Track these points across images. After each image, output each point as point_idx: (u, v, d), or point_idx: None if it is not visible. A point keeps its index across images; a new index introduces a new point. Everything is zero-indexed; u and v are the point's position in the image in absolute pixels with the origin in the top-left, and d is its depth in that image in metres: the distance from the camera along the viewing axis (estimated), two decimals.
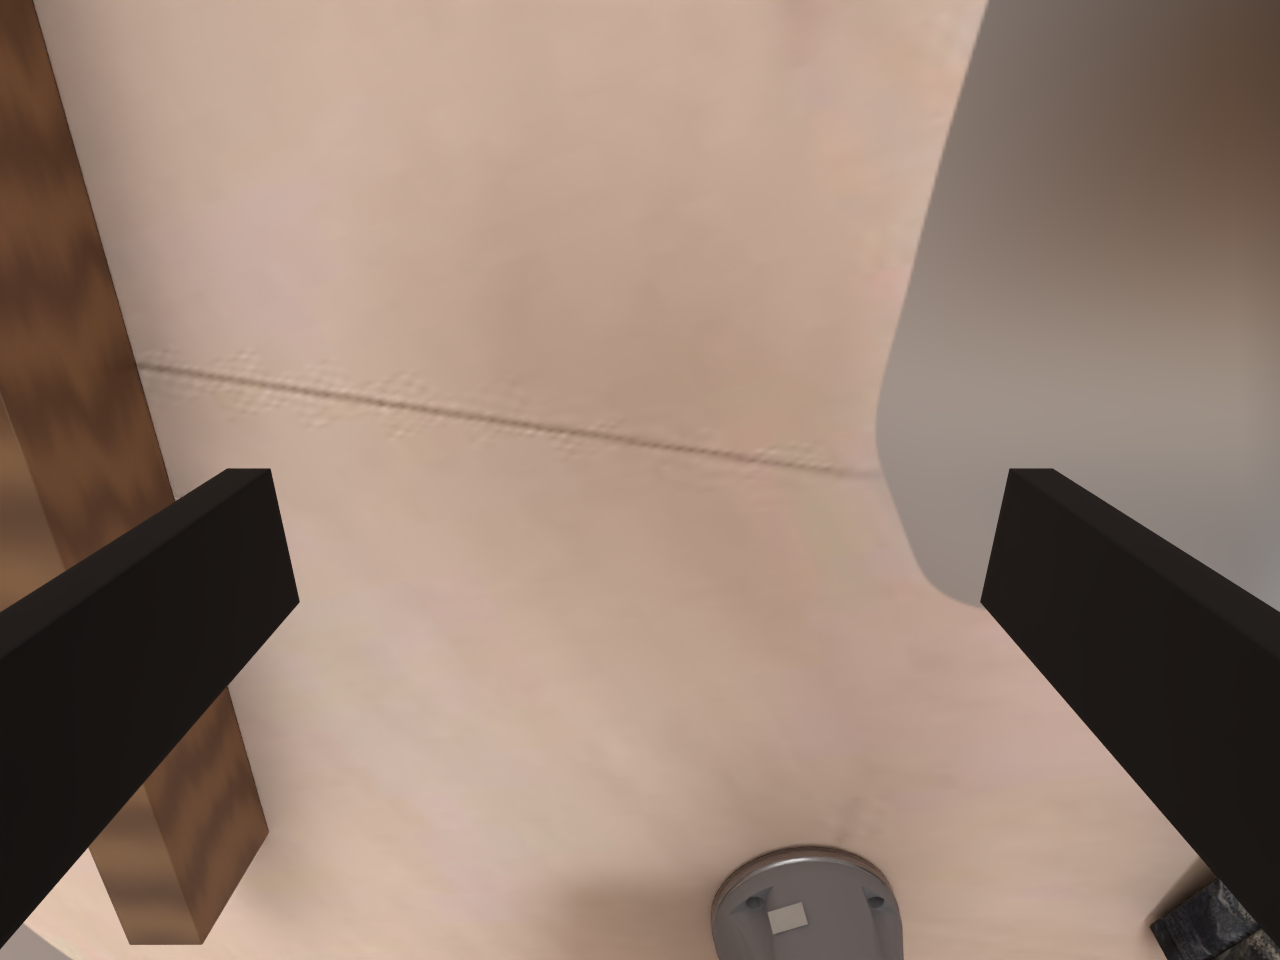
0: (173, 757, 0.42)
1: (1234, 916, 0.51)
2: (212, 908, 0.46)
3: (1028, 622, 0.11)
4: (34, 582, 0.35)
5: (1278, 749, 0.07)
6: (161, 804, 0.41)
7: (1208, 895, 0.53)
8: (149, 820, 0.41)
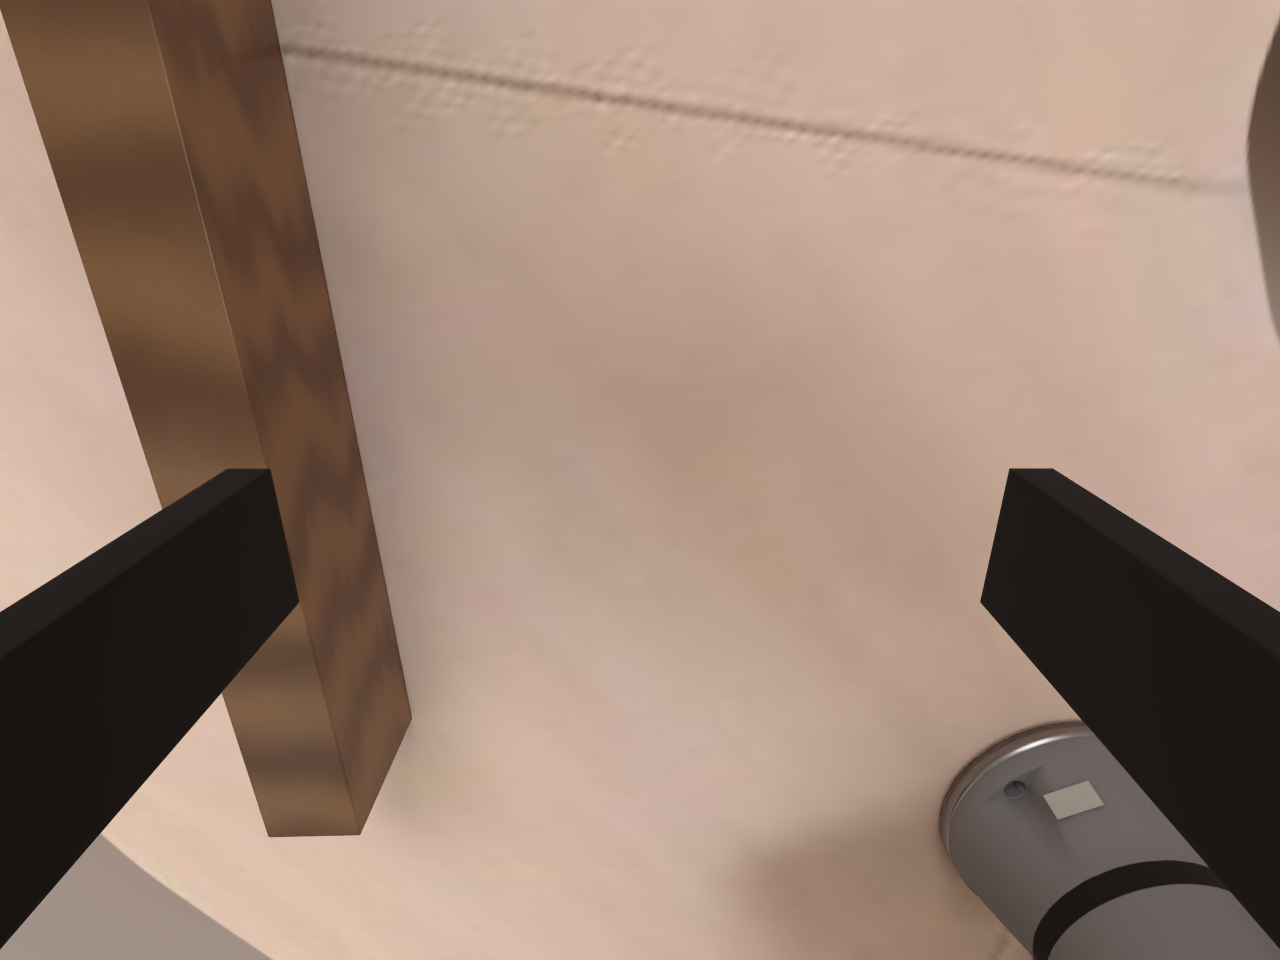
0: (328, 584, 0.33)
1: None
2: (367, 792, 0.37)
3: (1028, 622, 0.11)
4: (172, 291, 0.25)
5: (1278, 749, 0.07)
6: (319, 639, 0.32)
7: None
8: (305, 658, 0.31)
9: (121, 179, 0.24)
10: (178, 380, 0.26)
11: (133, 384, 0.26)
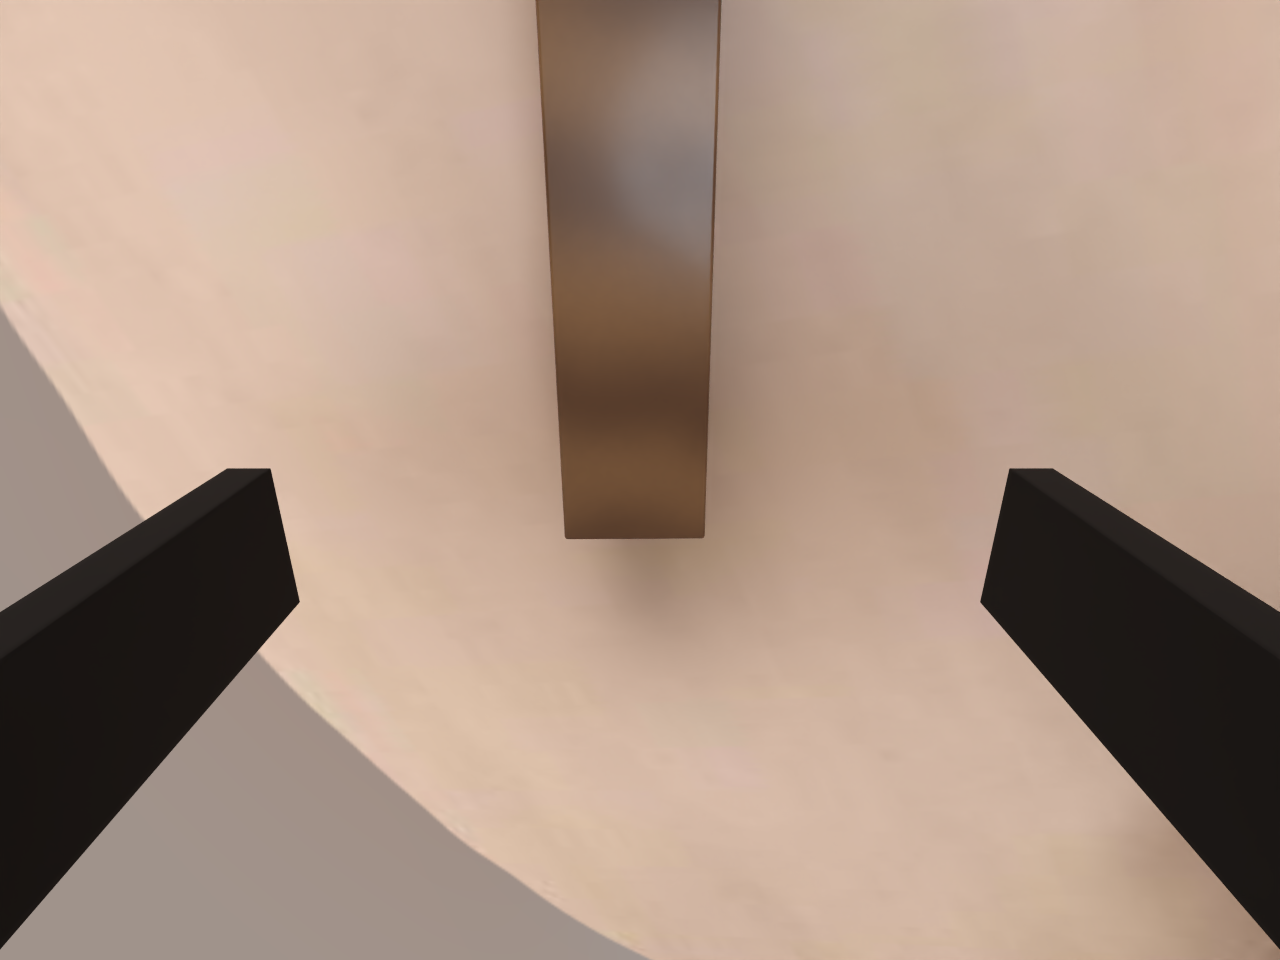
0: None
1: None
2: None
3: (1028, 622, 0.11)
4: None
5: (1278, 749, 0.07)
6: None
7: None
8: (699, 188, 0.19)
9: None
10: None
11: None
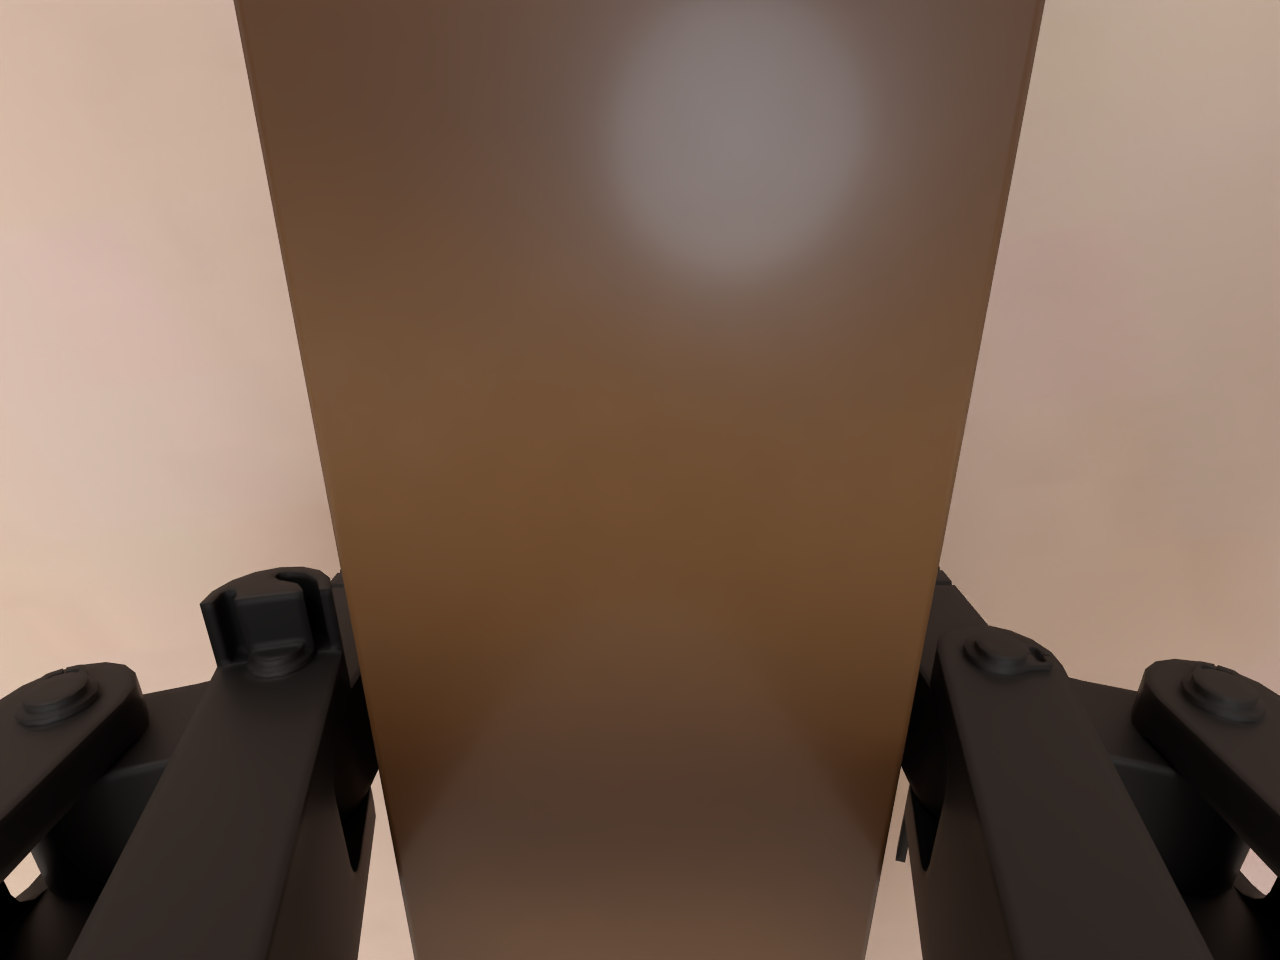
0: None
1: None
2: None
3: None
4: None
5: None
6: None
7: None
8: (967, 39, 0.04)
9: None
10: None
11: None
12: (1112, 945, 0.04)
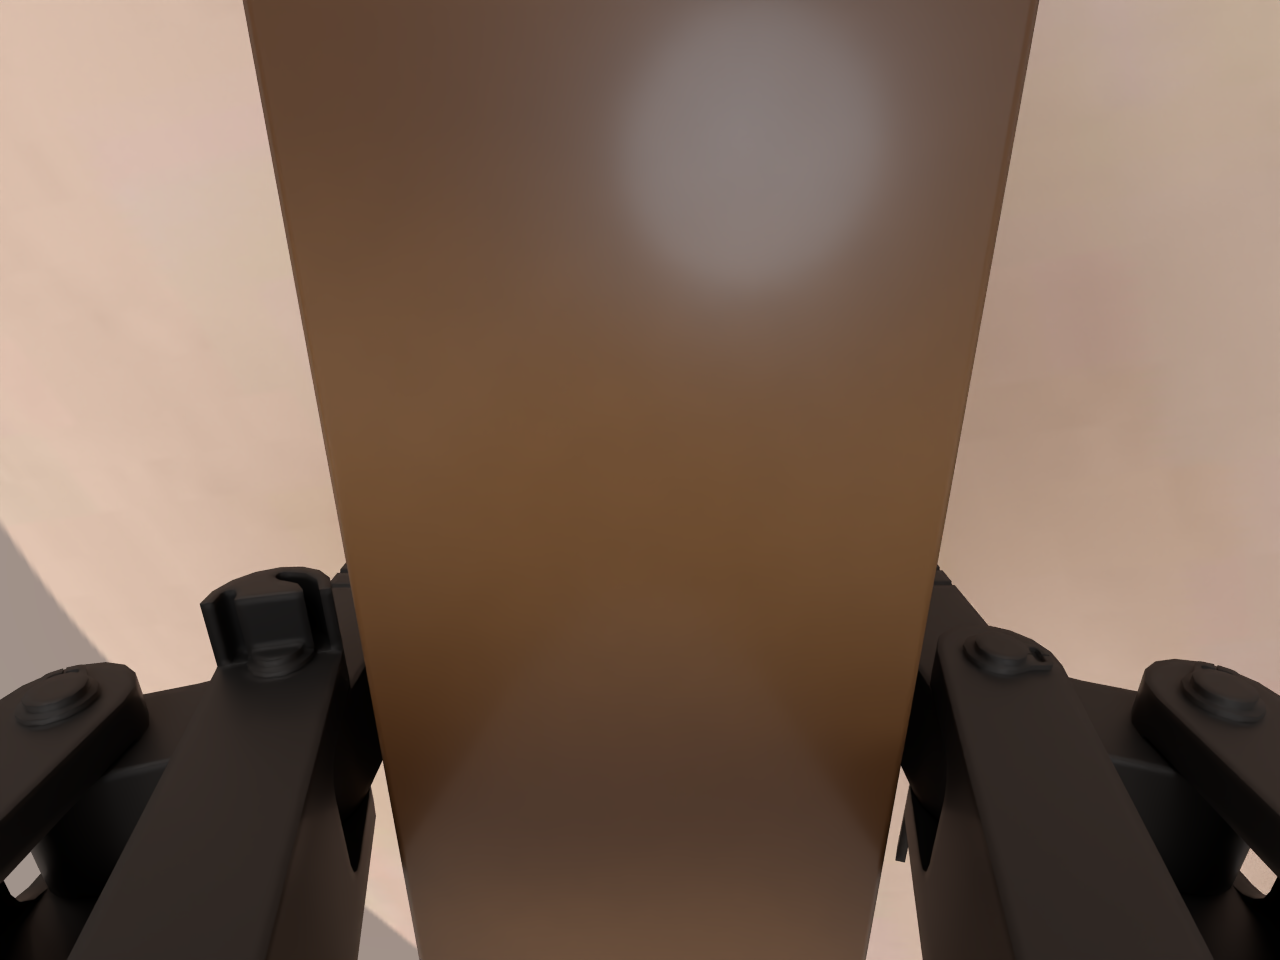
0: None
1: None
2: None
3: None
4: None
5: None
6: None
7: None
8: (962, 35, 0.04)
9: None
10: None
11: None
12: (1111, 944, 0.04)
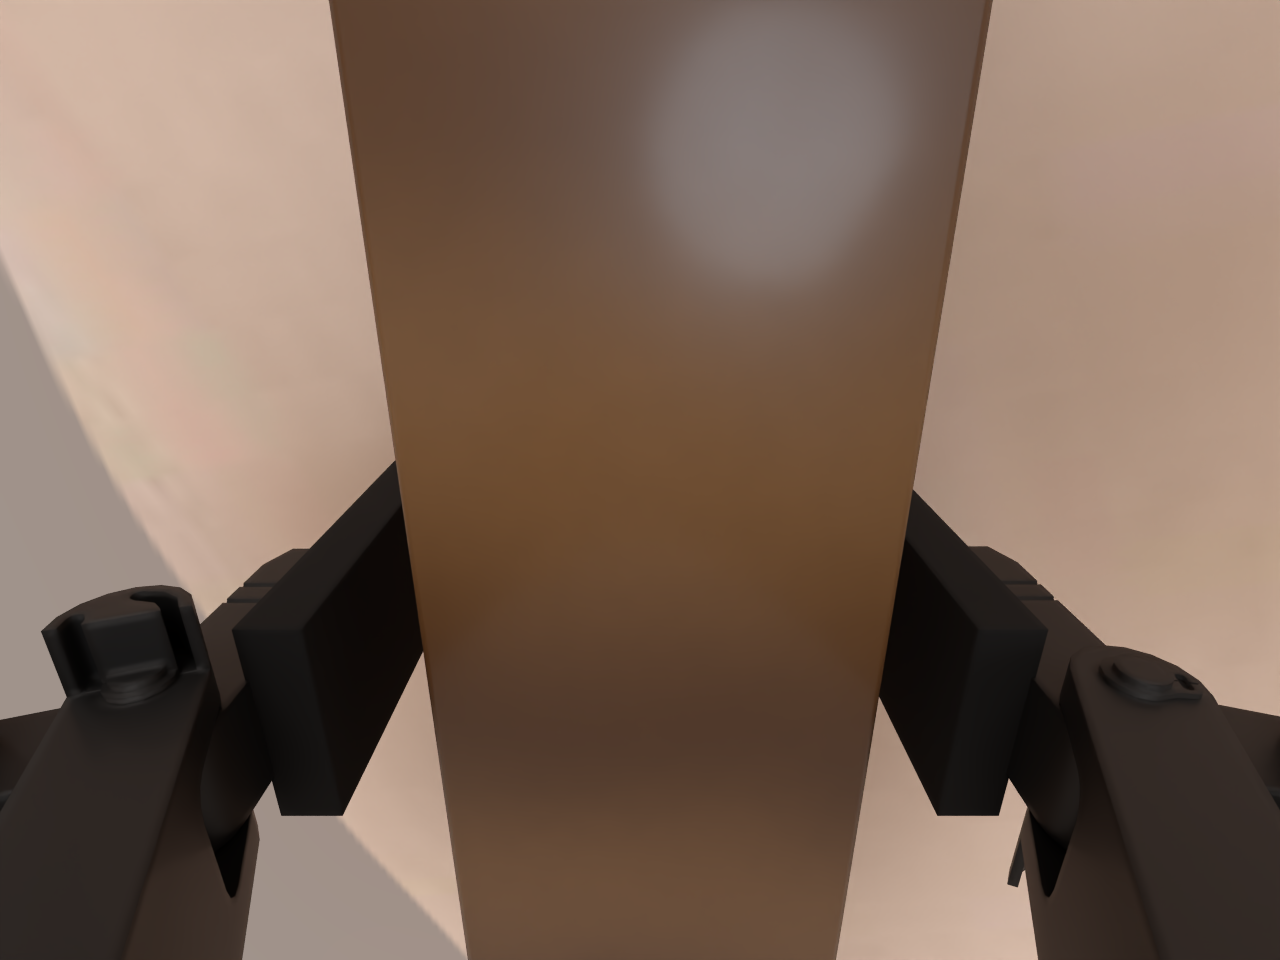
0: None
1: None
2: None
3: None
4: None
5: (934, 649, 0.08)
6: None
7: None
8: (924, 67, 0.05)
9: None
10: None
11: None
12: None
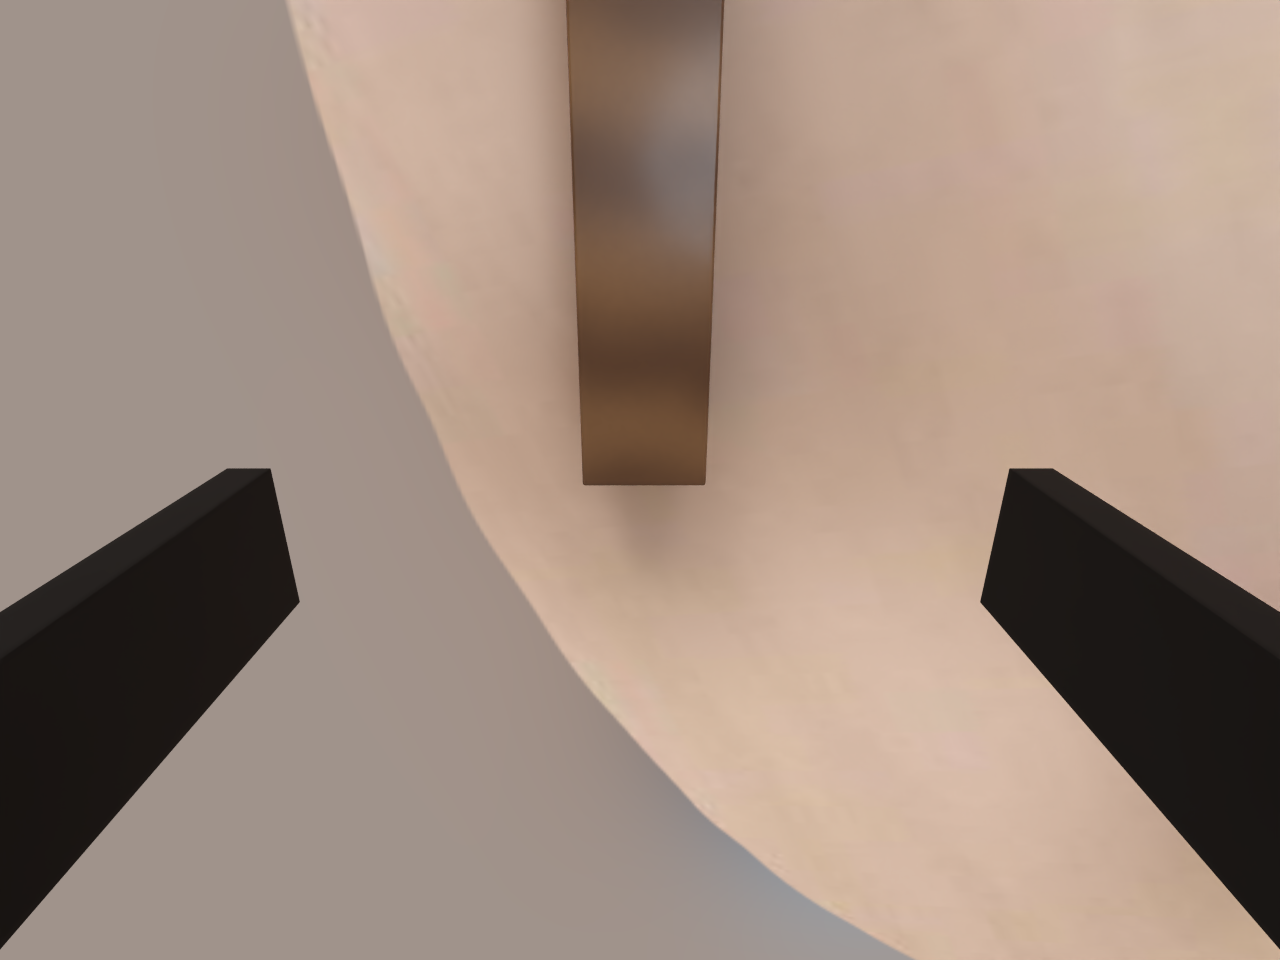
0: None
1: None
2: None
3: (1028, 622, 0.11)
4: None
5: (1278, 749, 0.07)
6: None
7: None
8: (703, 176, 0.23)
9: None
10: None
11: None
12: None
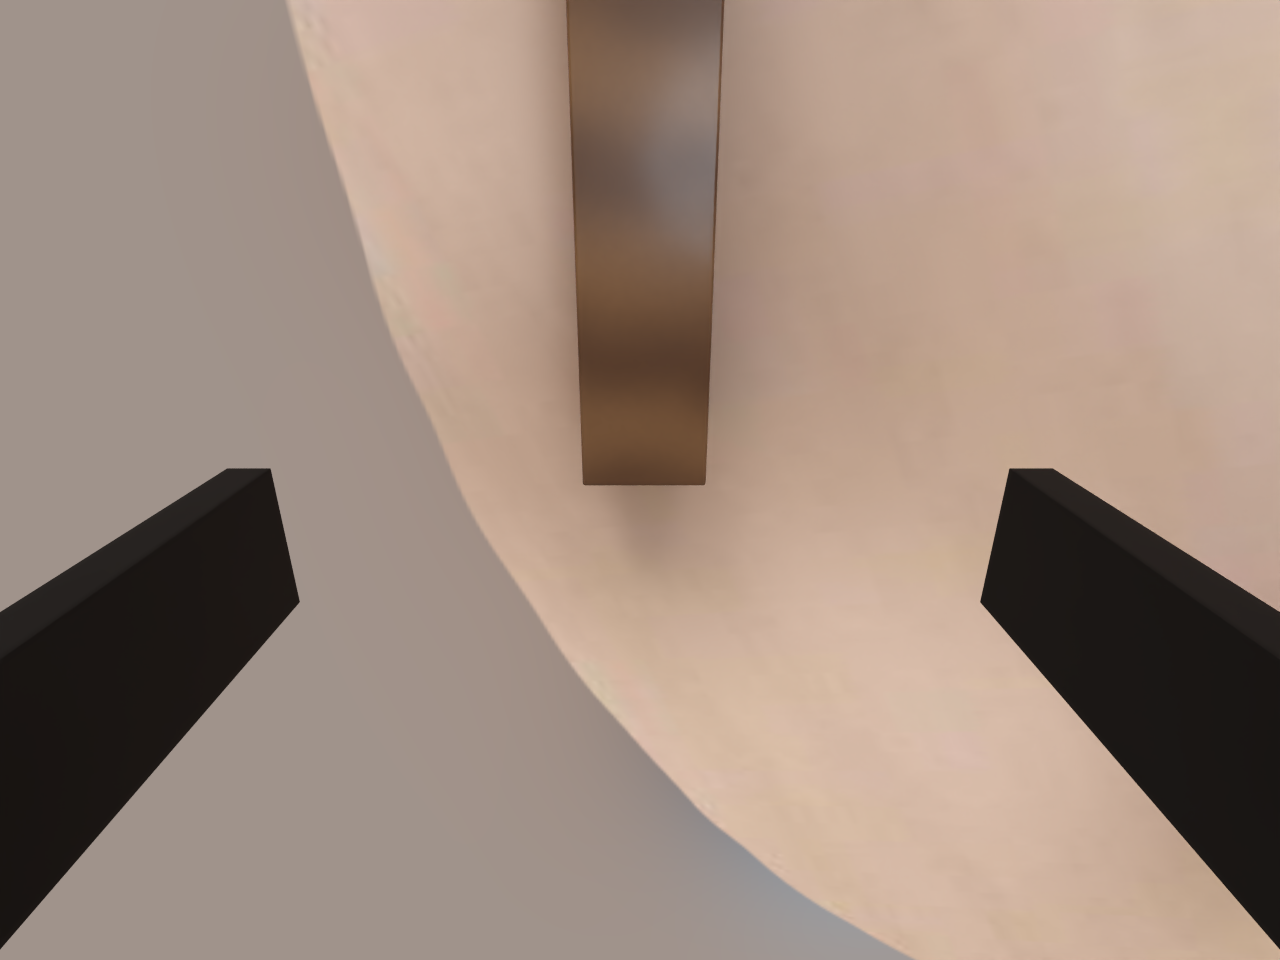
0: None
1: None
2: None
3: (1028, 622, 0.11)
4: None
5: (1278, 749, 0.07)
6: None
7: None
8: (703, 176, 0.23)
9: None
10: None
11: None
12: None
